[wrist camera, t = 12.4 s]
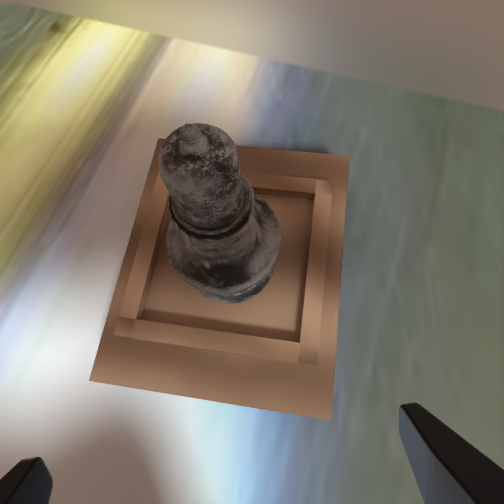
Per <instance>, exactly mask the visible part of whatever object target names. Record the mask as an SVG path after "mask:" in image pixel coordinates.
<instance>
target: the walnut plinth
mask: <svg viewBox="0 0 504 504" xmlns="http://www.w3.org/2000/svg"><path fill="white" fill-rule="evenodd" d="M164 141H165V139H158V142H157V145H156V149H155V152H154V156H153V159H152V163H151V166H150V170H149V173H148V177H147V180H146V184H145V187H144V191H143V194H142V198H141V201H140V205H139V208H138V212H137V215H136V219H135V222H134V226H133V229H132V233H131V236H130V240H129V243H128V247H127V250H126V253H125V257H124V260H123V264H122V267H121V271H120V274H119V278H118V281H117V285H116V288H115V292H114V295H113V299H112V302H111V306H110V309H109V313H108V316H107V320H106V323H105V327H104V330H103V334H102V337H101V341H100V344H99V348H98V351H97V355H96V358H95V361H94V365H93V368H92V372H91V375H90V379H89V381H94V382H100V383H107V384H113V385H119V386H125V387H131V388H137V389H143V390H149V391H155V392H161V393H167V394H173V395H179V396H186V397H192V398H198V399H204V400H210V401H216V402H222V403H228V404H234V405H240V406H246V407H252V408H259V409H265V410H271V411H277V412H283V413H289V414H295V415H301V416H307V417H313V418H319V419H325V420H331V415H332V400H333V386H334V372H335V357H336V343H337V328H338V314H339V299H340V285H341V271H342V256H343V242H344V227H345V213H346V199H347V184H348V170H349V156H345V155H334V154H323V153H312V152H301V151H290V150H279V149H268V148H257V147H246V146H236V148H237V150H238V153H239V159H240V166H241V172H242V174H243V175H244V176H245V177H246V178H247V179H248V181H249V182H250V184H251V186H252V189H253V191H254V194H256V195H257V196H259V197H260V198H261V199H263V200H264V201H265V202H266V203H267V204H268V205H269V206H270V208H271V209H272V210H273V211H274V213H275V216H276V218H277V220H278V222H279V226H280V234H281V242H280V248H279V253H278V255H277V258H276V260H275V264H274V270H273V274H272V276H271V278H270V280H269V282H268V284H267V285H266V286H265V287H264V288H263V290H262V291H261V292H260V293H258V294H257V295H255V296H254V297H252V298H251V299H248V300H246V301H243V302H240V303H232V304H225V303H219V302H215V301H213V300H210V299H208V298H206V297H204V296H203V295H202V294H201V293H200V292H199V291H197V290H196V288H195V287H193V286H191V285H189V284H188V283H187V282H186V281H184V280H183V279H182V278H181V277H180V276H179V275H178V274H177V272H176V271H175V269H174V268H173V266H172V265H171V263H170V260H169V257H168V254H167V250H166V235H167V231H168V228H169V224H170V221H171V220H172V218H171V215H170V212H169V201H168V199H169V195H170V194H169V192H168V190H167V188H166V186H165V184H164V182H163V180H162V178H161V175H160V172H159V168H158V154H159V151H160V147H161V146H162V144H163V143H164Z"/></svg>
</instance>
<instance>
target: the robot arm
mask: <svg viewBox="0 0 504 504" xmlns="http://www.w3.org/2000/svg"><path fill="white" fill-rule="evenodd" d="M399 433H400V437H401V440H402V443H403V446H404V448H405V451H406V454H407V457H408V459H409V462H410V465H411V467H412V470H413V473H414V476H415V478H416V481H417V484H418V486H419V489H420V492H421V494H422V497H423V500H424V502H425V504H504V470H503V469H502V468H501V467H499V466H498V465H497V464H496V463H494V462H493V461H492V460H490V459H489V458H488V457H487V456H485V455H484V454H483V453H481V452H480V451H479V450H478V449H476V448H475V447H474V446H472V445H471V444H470V443H469V442H467V441H466V440H465V439H463V438H462V437H461V436H459V435H458V434H457V433H456V432H454V431H453V430H452V429H450V428H449V427H448V426H447V425H445V424H444V423H443V422H441V421H440V420H439V419H438V418H436V417H435V416H434V415H432V414H431V413H430V412H429V411H427V410H426V409H425V408H423V407H422V406H421V405H419V404H418V403H408V404H402V405H401V406H400V408H399ZM52 487H53V480H52V476H51V474H50V472H49V471H48V469H47V467H46V465H45V463H44V461H43V459H42V458H40V457H33V458H26V459H23V460H21V461H20V462H19V463H18V464H16V465H15V466H14V467H13V468H12V469H11V470H10V471H9V472H8V473H7V474H6V475H5V476H4V477H3V478H2V479H0V504H49V500H50V496H51V492H52Z"/></svg>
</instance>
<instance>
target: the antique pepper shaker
mask: <svg viewBox="0 0 504 504" xmlns="http://www.w3.org/2000/svg"><path fill="white" fill-rule="evenodd" d="M158 168H159V172H160V175H161V178H162V180H163V182H164V184H165V186H166V188H167V190H168V192H169V194H170V195H169V199H168V201H169V212H170V215H171V218H172V220H171V221H170V224H169V228H168V231H167V235H166V250H167V254H168V257H169V260H170V263H171V265H172V266H173V268H174V269H175V271H176V272H177V274H178V275H179V276H180V277H181V278H182V279H183V280H184V281H186V282H187V283H188V284H189V285H191V286H193V287H195V288H196V290H197V291H199V292H200V293H201V294H202V295H203V296H204V297H206V298H208V299H210V300H213V301H215V302H219V303H225V304H232V303H240V302H243V301H246V300H248V299H251V298H252V297H254V296H255V295H257V294H258V293H260V292H261V291H262V290H263V288H264V287H265V286H266V285H267V284H268V282H269V280H270V278H271V276H272V274H273V270H274V264H275V260H276V258H277V255H278V253H279V248H280V242H281V234H280V226H279V222H278V220H277V218H276V216H275V213H274V211H273V210H272V209H271V208H270V206H269V205H268V204H267V203H266V202H265V201H264V200H263V199H261V198H260V197H259V196H257V195H256V194H254V191H253V189H252V186H251V184H250V182H249V181H248V179H247V178H246V177H245V176H244V175H243V174H242V172H241V166H240V159H239V153H238V150H237V148H236V146H235V144H234V142H233V140H232V139H231V138H230V137H229V136H228V134H227V133H225V132H224V131H222V130H221V129H219V128H217V127H214V126H211V125H208V124H201V123H195V124H185V125H184V126H182V127H180V128H178V129H176V130H175V131H173V132H172V133H171V134H170V135H169V136H168V137H167V138H166V139H165V141H164V143H163V144H162V146H161V147H160V151H159V154H158Z"/></svg>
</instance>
